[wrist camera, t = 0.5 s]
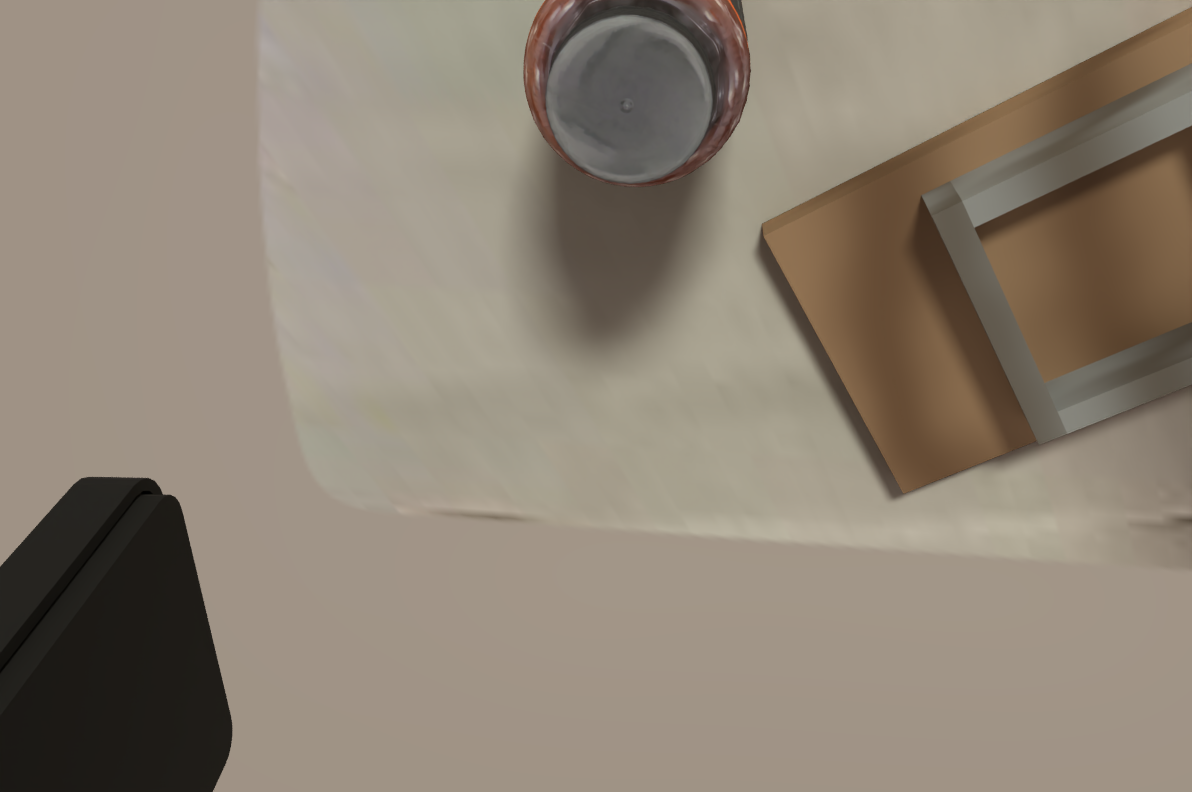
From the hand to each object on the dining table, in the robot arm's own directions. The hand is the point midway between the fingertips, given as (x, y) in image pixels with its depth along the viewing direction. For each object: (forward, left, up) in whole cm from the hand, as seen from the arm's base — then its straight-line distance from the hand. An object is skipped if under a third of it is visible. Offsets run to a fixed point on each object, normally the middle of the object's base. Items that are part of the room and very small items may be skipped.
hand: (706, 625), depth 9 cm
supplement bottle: (+2, -1, -30) cm, 30 cm away
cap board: (-8, +13, -29) cm, 33 cm away
